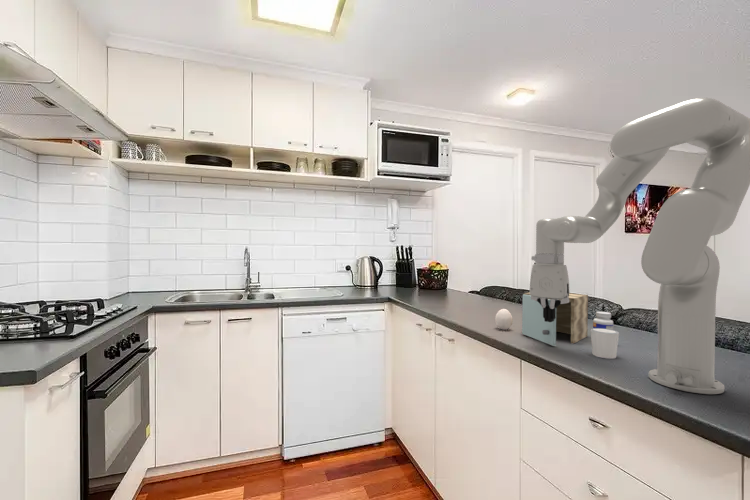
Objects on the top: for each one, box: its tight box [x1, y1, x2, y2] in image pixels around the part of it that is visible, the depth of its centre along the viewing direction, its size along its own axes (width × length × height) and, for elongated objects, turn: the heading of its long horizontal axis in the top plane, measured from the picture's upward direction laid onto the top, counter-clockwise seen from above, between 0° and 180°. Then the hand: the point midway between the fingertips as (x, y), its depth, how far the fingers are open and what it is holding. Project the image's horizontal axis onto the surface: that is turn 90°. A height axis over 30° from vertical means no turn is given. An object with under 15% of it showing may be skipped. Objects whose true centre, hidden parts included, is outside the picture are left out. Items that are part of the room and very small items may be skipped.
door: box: [521, 294, 557, 347], centre depth 114 cm, size 2×15×14 cm, turn 12°
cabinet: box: [522, 291, 589, 344], centre depth 121 cm, size 14×16×14 cm
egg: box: [494, 308, 514, 331], centre depth 130 cm, size 6×6×8 cm
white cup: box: [589, 327, 620, 360], centre depth 99 cm, size 7×7×7 cm
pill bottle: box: [592, 311, 614, 330], centre depth 112 cm, size 5×5×10 cm
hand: (549, 321), depth 106 cm, fingers closed
